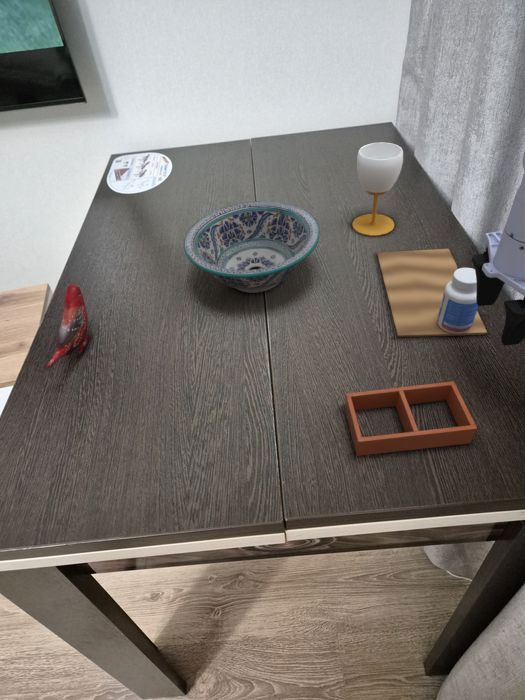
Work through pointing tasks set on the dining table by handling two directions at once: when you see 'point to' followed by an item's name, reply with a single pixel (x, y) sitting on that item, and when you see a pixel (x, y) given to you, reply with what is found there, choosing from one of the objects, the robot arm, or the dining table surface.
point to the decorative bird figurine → (72, 325)
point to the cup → (377, 183)
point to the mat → (419, 290)
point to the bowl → (252, 243)
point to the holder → (410, 418)
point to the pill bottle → (459, 302)
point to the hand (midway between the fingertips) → (496, 322)
